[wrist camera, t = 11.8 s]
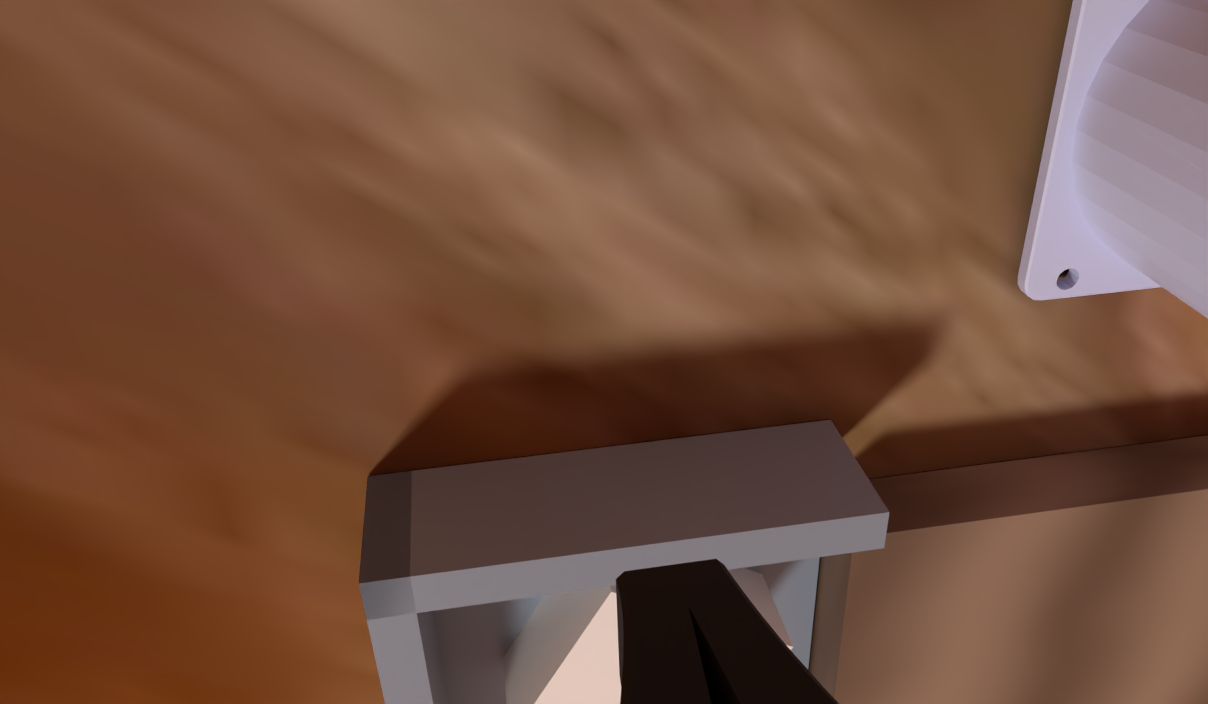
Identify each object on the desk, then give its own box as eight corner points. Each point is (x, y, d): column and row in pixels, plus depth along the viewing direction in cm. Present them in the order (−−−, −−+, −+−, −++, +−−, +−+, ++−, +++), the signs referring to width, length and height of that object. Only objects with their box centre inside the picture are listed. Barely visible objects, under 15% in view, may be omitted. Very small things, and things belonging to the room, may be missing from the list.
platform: (1325, 419, 26) (1388, 464, 25) (1202, 719, 32) (1245, 771, 31) (824, 485, 25) (853, 537, 23) (794, 787, 31) (815, 846, 29)
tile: (762, 574, 25) (793, 647, 23) (664, 701, 27) (685, 779, 25) (594, 518, 23) (611, 591, 21) (502, 658, 25) (509, 739, 23)
